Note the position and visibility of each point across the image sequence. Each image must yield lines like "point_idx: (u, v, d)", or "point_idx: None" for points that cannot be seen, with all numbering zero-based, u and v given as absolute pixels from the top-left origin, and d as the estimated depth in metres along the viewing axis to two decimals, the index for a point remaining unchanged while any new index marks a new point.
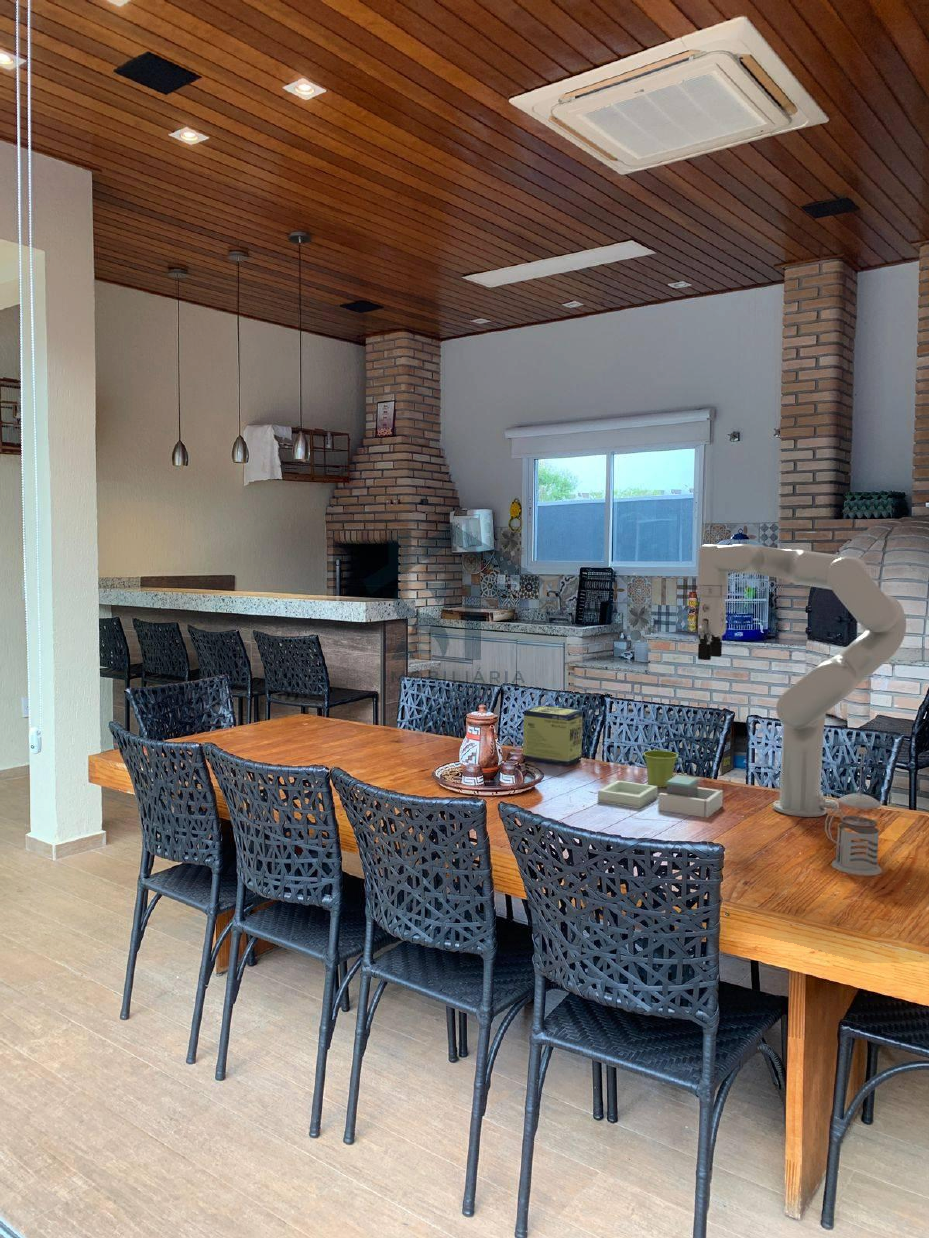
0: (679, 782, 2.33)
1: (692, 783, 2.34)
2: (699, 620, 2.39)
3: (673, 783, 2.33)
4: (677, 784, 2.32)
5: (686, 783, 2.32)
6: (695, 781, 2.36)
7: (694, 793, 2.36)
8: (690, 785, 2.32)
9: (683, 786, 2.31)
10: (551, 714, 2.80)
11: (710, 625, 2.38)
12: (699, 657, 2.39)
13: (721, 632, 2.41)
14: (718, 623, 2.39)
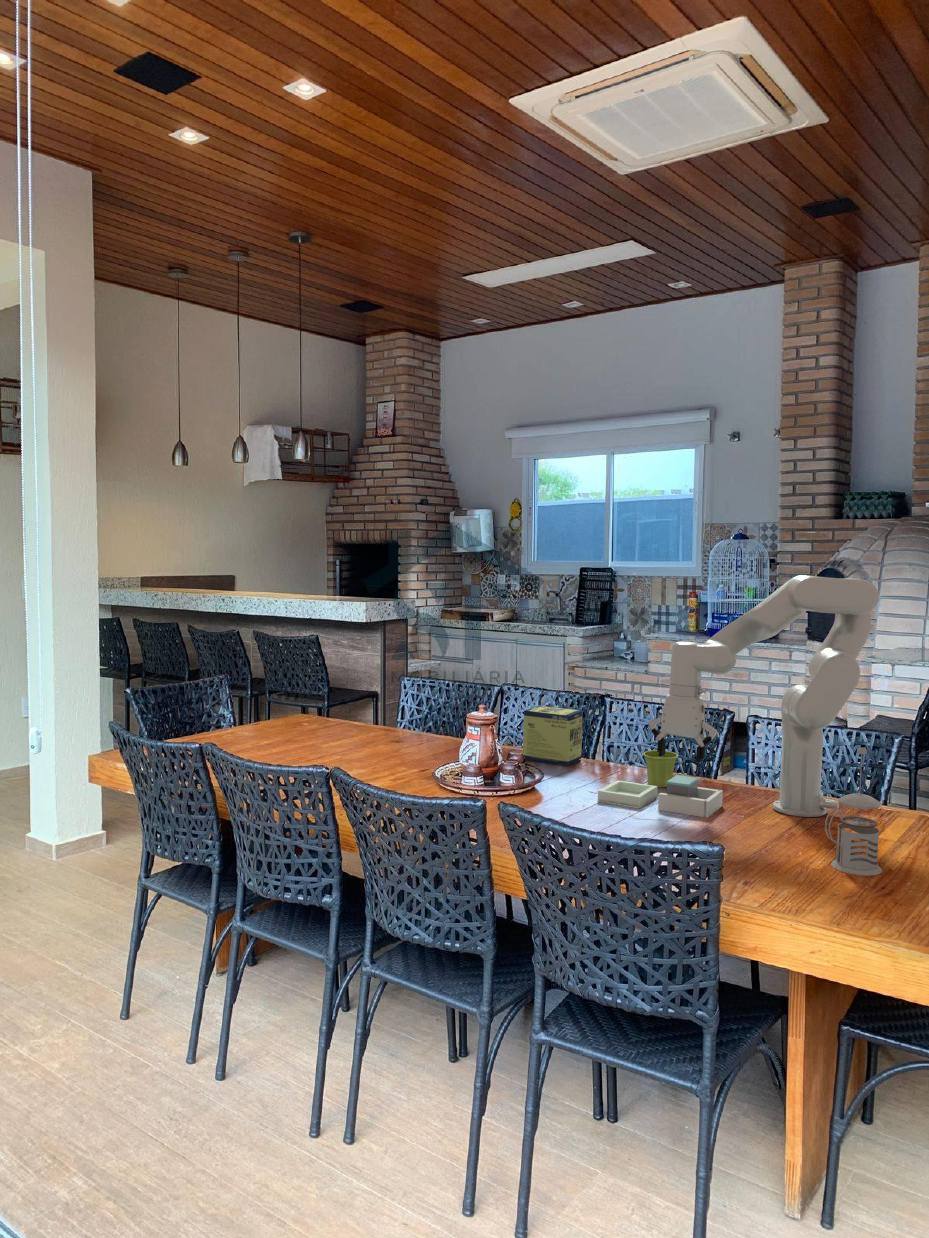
0: (679, 782, 2.33)
1: (692, 783, 2.34)
2: (699, 722, 2.31)
3: (673, 783, 2.33)
4: (677, 784, 2.32)
5: (686, 783, 2.32)
6: (695, 781, 2.36)
7: (694, 793, 2.36)
8: (690, 785, 2.32)
9: (683, 786, 2.31)
10: (551, 714, 2.80)
11: None
12: (699, 760, 2.31)
13: None
14: None
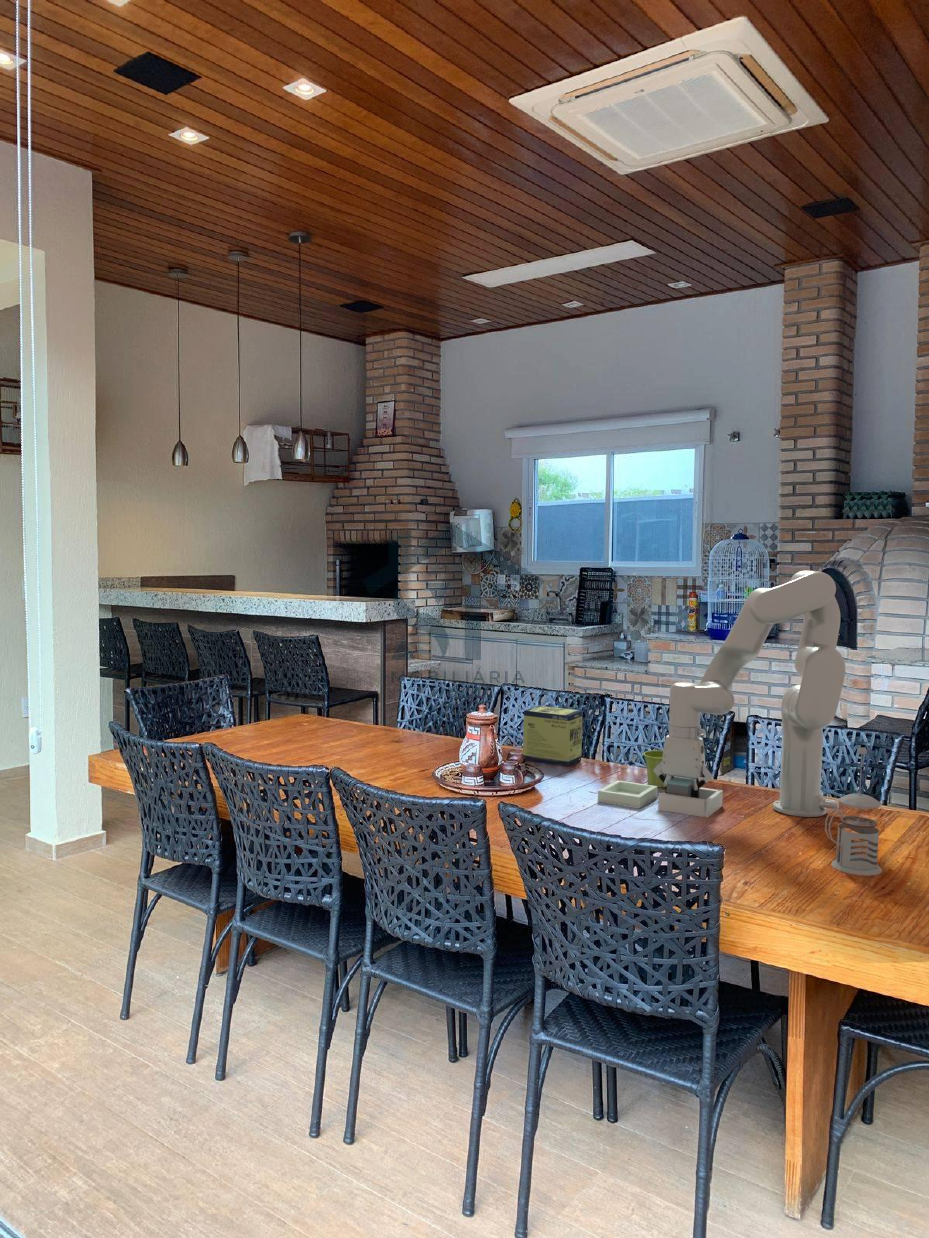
0: (679, 782, 2.33)
1: None
2: (700, 763, 2.31)
3: (673, 783, 2.33)
4: (677, 784, 2.32)
5: (686, 783, 2.32)
6: None
7: None
8: (690, 785, 2.32)
9: (683, 786, 2.31)
10: (551, 714, 2.80)
11: (704, 765, 2.34)
12: None
13: None
14: None
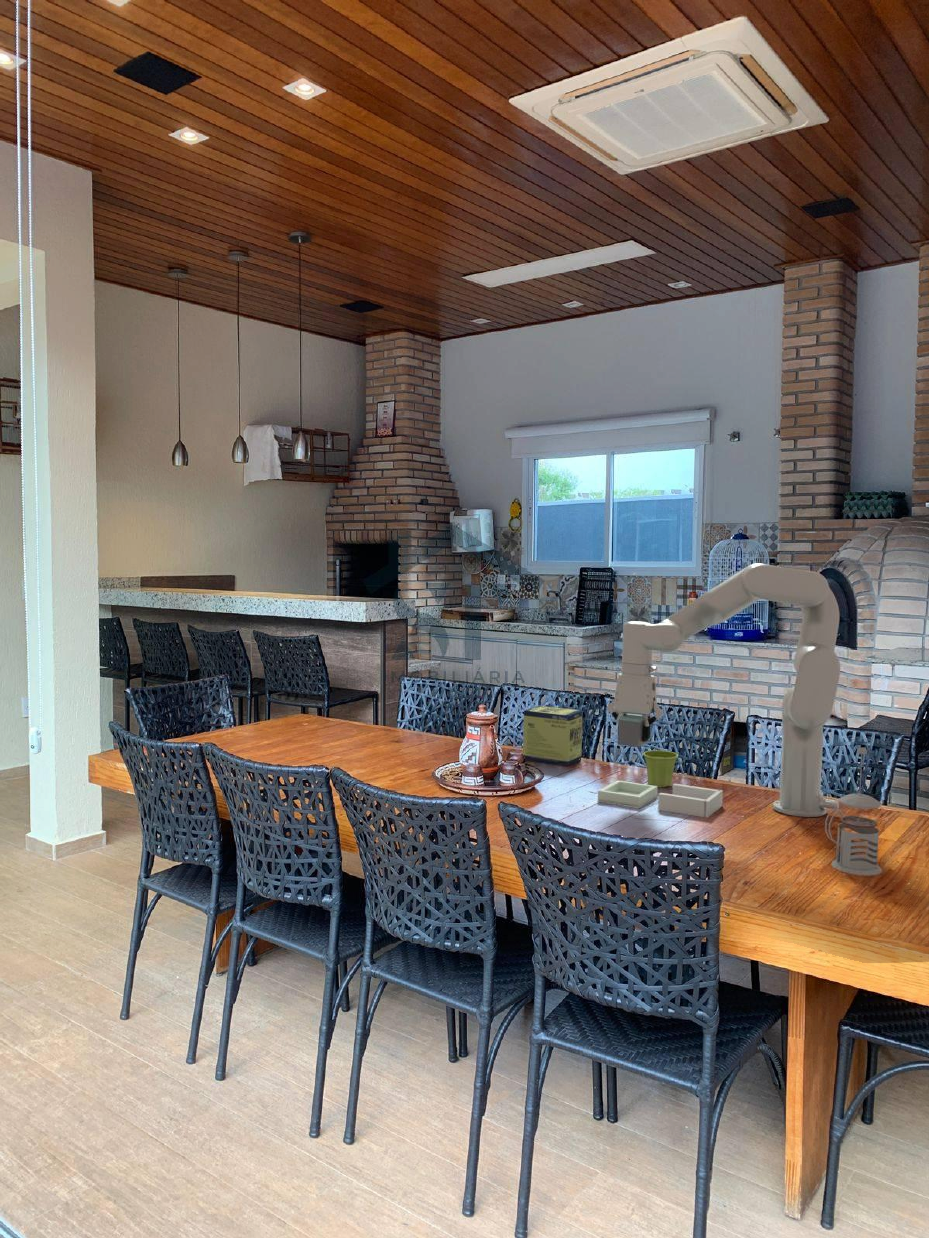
0: (631, 718, 2.37)
1: None
2: (651, 700, 2.36)
3: (625, 719, 2.37)
4: (629, 720, 2.37)
5: (637, 719, 2.36)
6: None
7: None
8: (641, 721, 2.37)
9: (634, 721, 2.36)
10: (551, 714, 2.80)
11: (655, 702, 2.38)
12: (644, 739, 2.38)
13: None
14: None
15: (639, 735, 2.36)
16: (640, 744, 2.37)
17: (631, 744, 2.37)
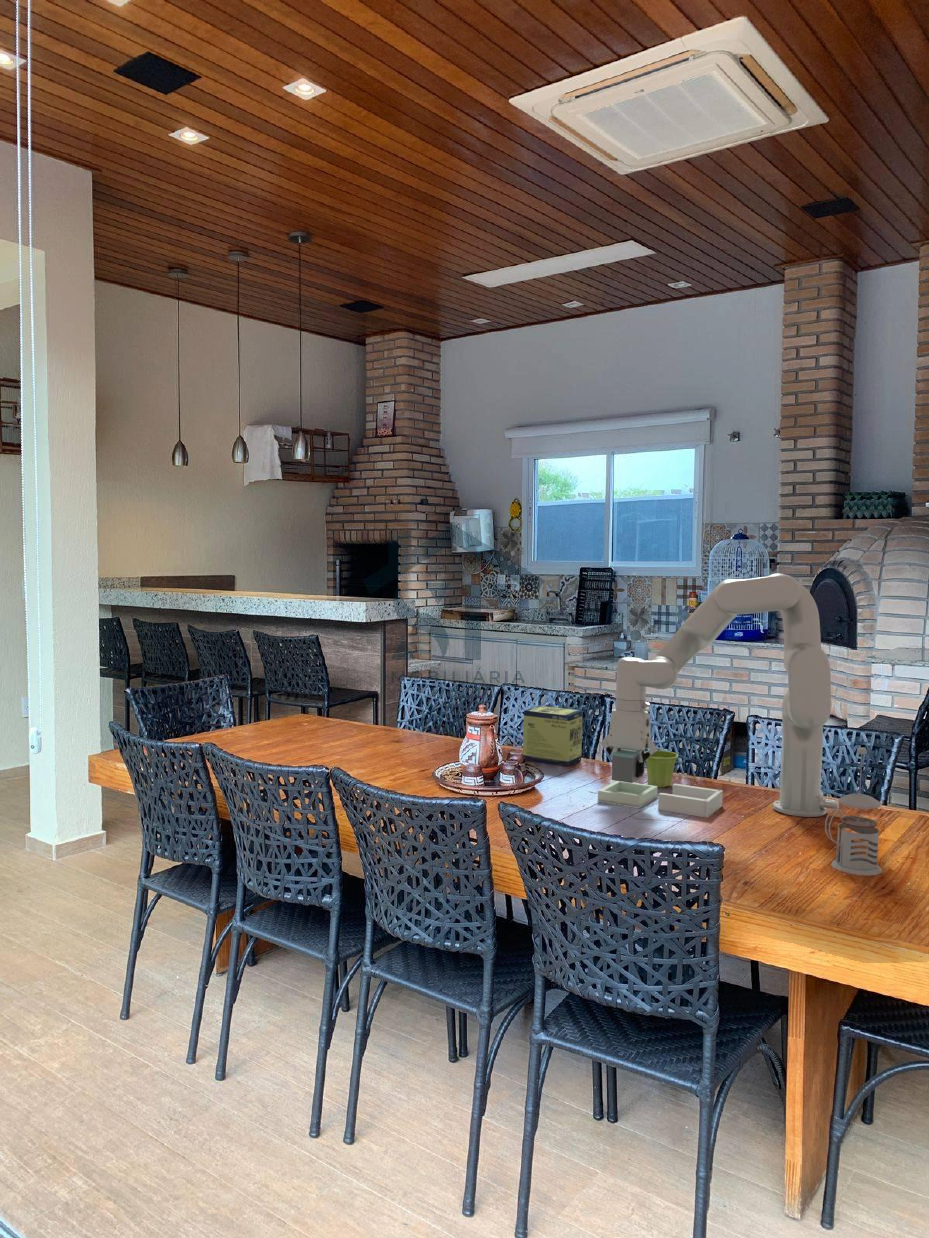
0: (624, 754, 2.39)
1: None
2: (645, 736, 2.37)
3: (619, 755, 2.38)
4: (622, 756, 2.38)
5: (631, 755, 2.38)
6: None
7: None
8: (635, 757, 2.38)
9: (628, 757, 2.37)
10: (551, 714, 2.80)
11: (649, 738, 2.40)
12: (638, 775, 2.39)
13: None
14: None
15: (633, 771, 2.37)
16: (634, 780, 2.38)
17: (625, 780, 2.38)
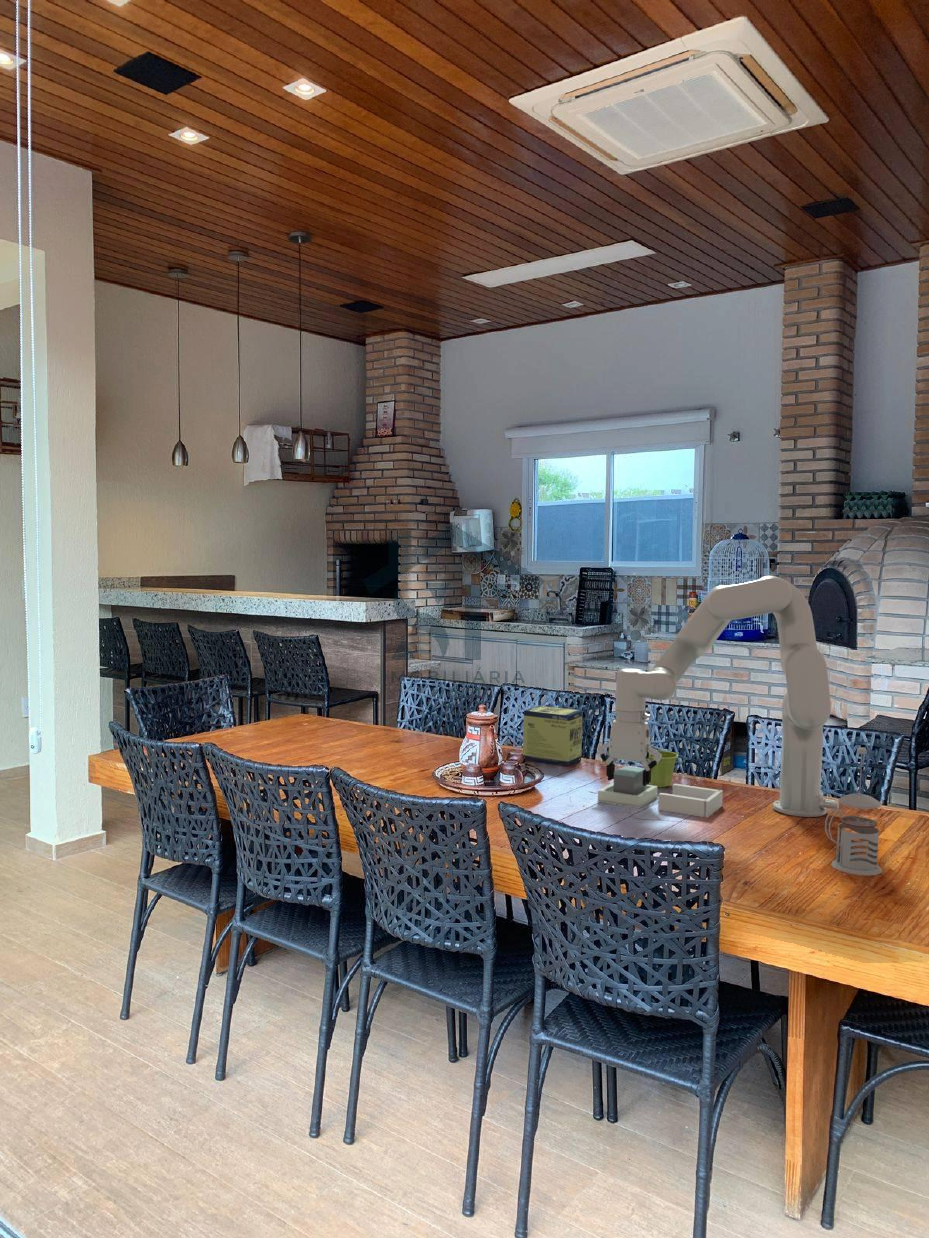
0: (626, 772, 2.39)
1: (639, 773, 2.40)
2: (645, 747, 2.37)
3: (620, 773, 2.39)
4: (624, 774, 2.38)
5: (632, 773, 2.38)
6: (642, 772, 2.42)
7: (641, 783, 2.42)
8: (636, 775, 2.38)
9: (629, 776, 2.37)
10: (551, 714, 2.80)
11: None
12: (645, 783, 2.38)
13: None
14: None
15: (634, 790, 2.38)
16: None
17: None
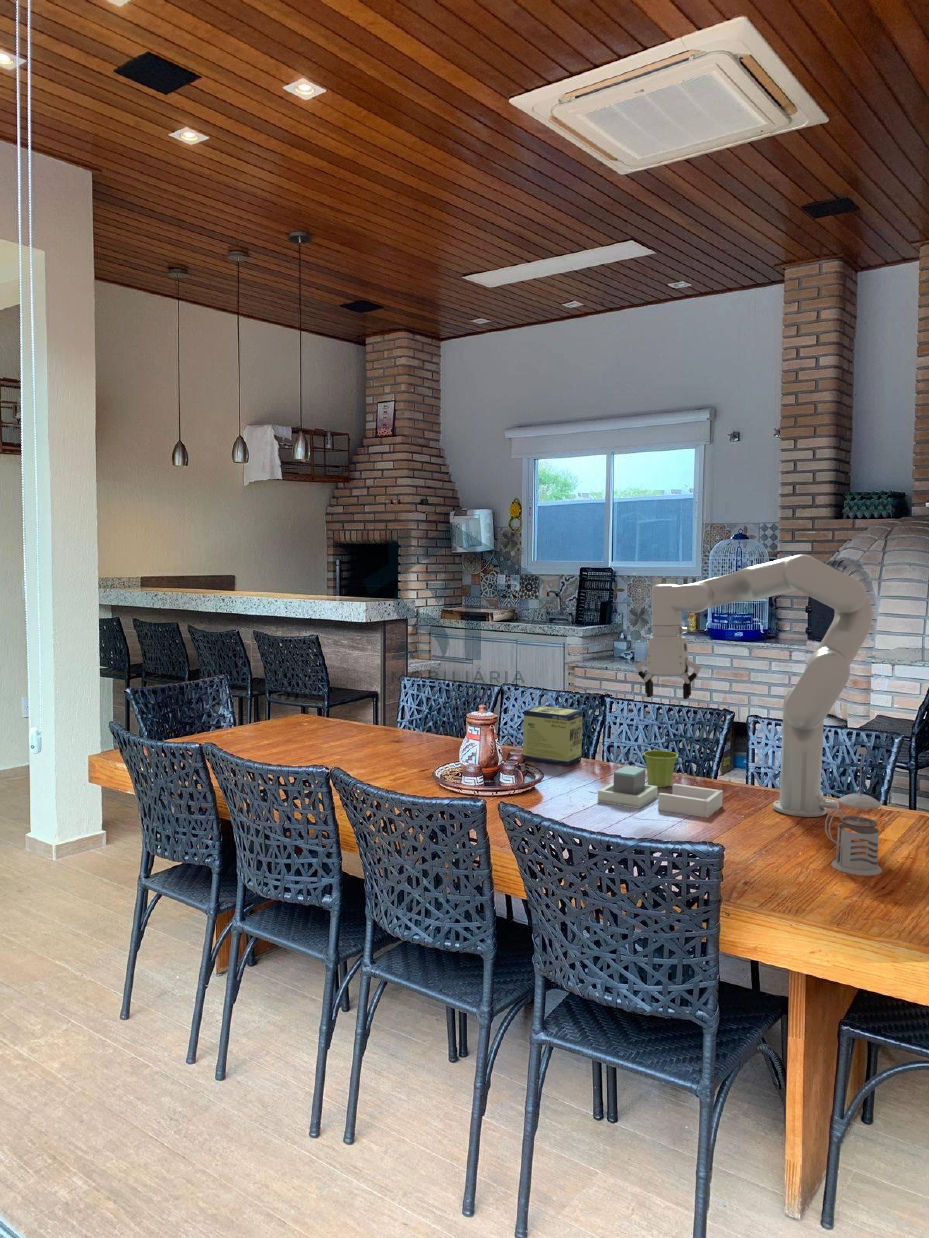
0: (626, 772, 2.39)
1: (639, 773, 2.40)
2: (684, 660, 2.38)
3: (620, 773, 2.39)
4: (624, 774, 2.38)
5: (632, 773, 2.38)
6: (642, 772, 2.42)
7: (641, 783, 2.42)
8: (636, 775, 2.38)
9: (629, 776, 2.37)
10: (551, 714, 2.80)
11: None
12: (686, 697, 2.39)
13: None
14: None
15: (634, 790, 2.38)
16: None
17: None
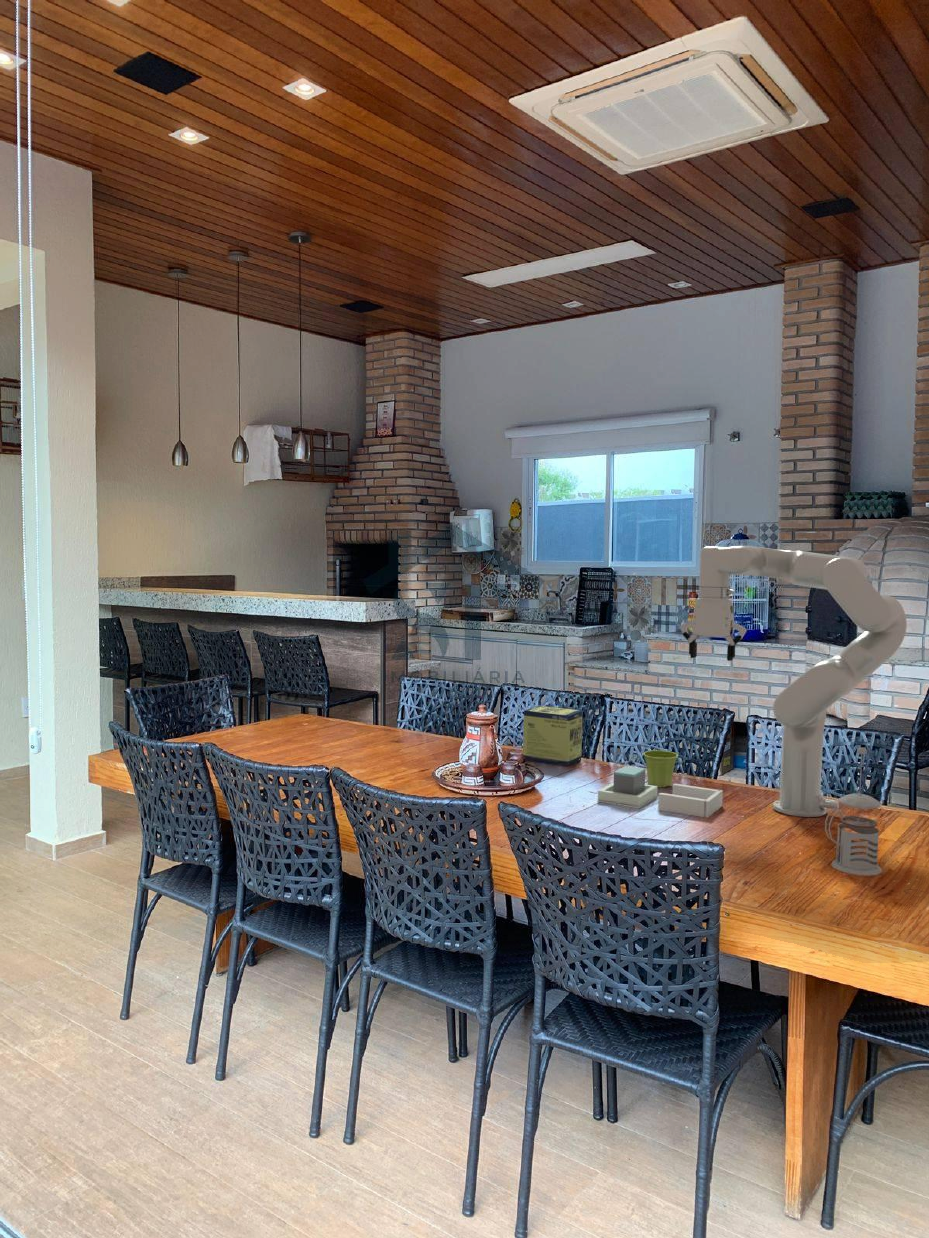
0: (626, 772, 2.39)
1: (639, 773, 2.40)
2: (729, 622, 2.41)
3: (620, 773, 2.39)
4: (624, 774, 2.38)
5: (632, 773, 2.38)
6: (642, 772, 2.42)
7: (641, 783, 2.42)
8: (636, 775, 2.38)
9: (629, 776, 2.37)
10: (551, 714, 2.80)
11: None
12: (730, 658, 2.41)
13: None
14: None
15: (634, 790, 2.38)
16: None
17: None
